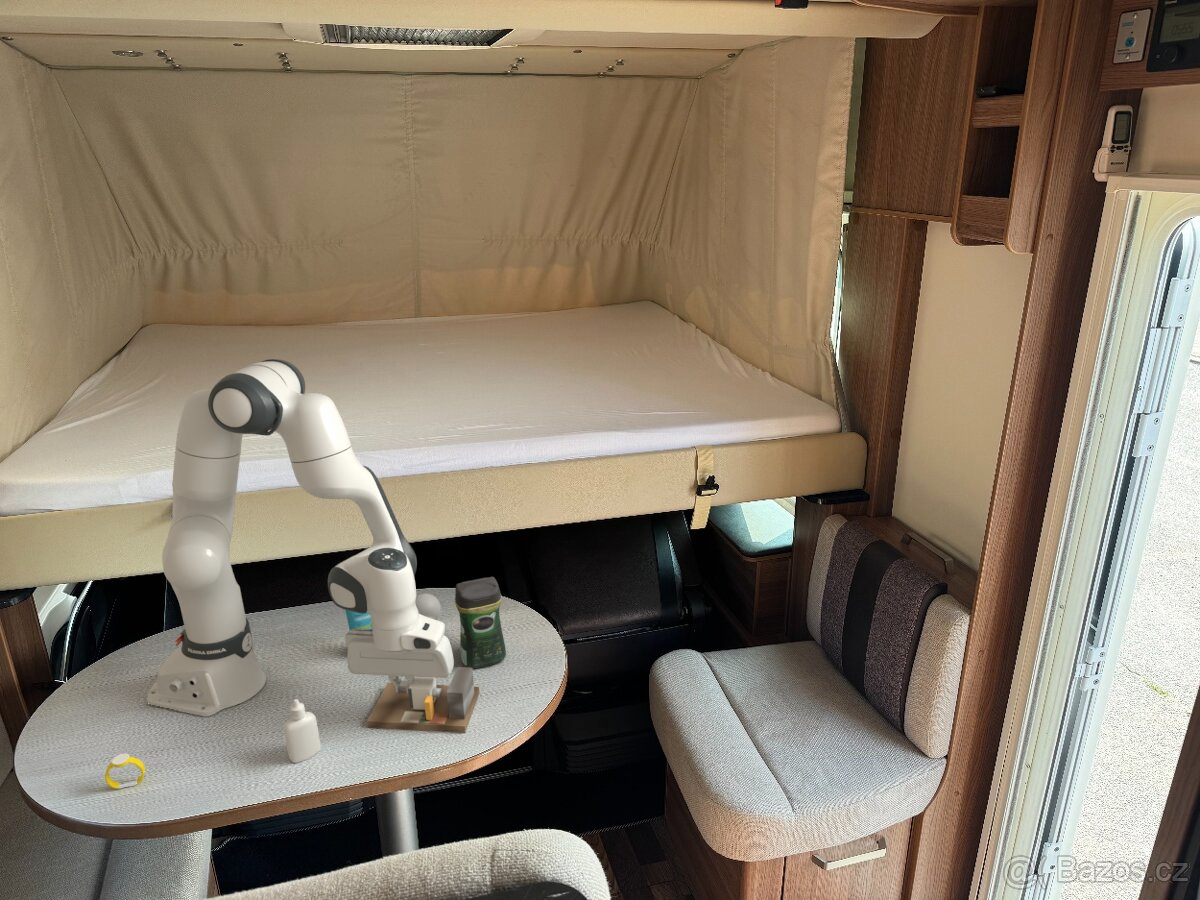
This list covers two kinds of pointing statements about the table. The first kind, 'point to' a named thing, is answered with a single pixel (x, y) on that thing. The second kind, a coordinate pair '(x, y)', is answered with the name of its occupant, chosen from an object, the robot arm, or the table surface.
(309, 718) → the eye dropper bottle
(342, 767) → the table surface
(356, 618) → the tube
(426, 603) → the round bodied animal figurine
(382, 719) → the bench
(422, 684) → the cream block with knob
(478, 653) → the coffee jar
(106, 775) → the watch
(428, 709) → the block
